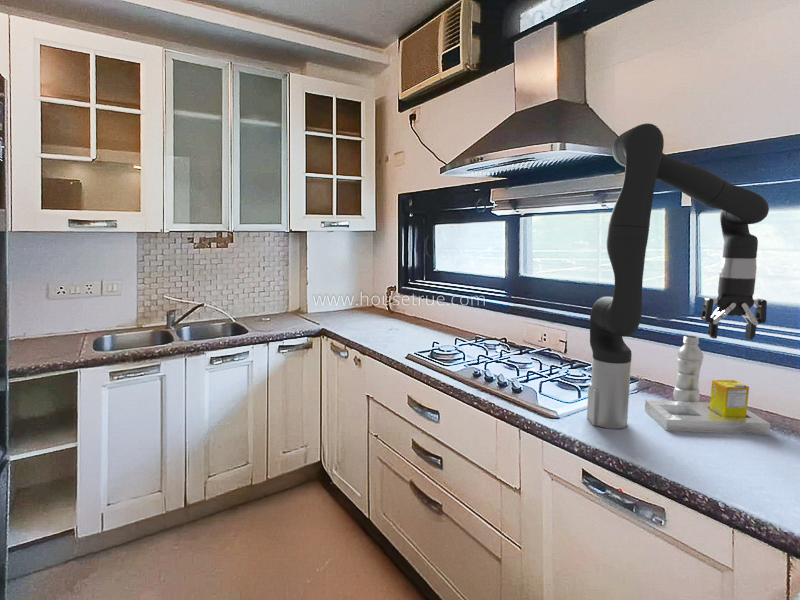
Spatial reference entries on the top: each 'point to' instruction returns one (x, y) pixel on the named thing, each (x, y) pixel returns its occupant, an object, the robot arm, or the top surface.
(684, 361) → the plastic bottle
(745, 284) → the robot arm
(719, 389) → the supplement box
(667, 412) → the rail plate
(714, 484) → the top surface
